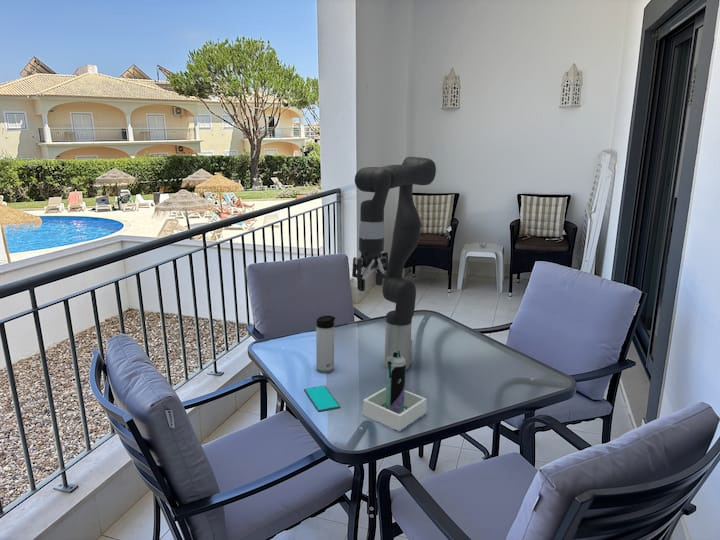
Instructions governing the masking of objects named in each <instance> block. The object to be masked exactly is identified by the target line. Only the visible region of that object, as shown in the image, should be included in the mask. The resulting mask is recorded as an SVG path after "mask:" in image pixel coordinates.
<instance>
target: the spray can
mask: <svg viewBox="0 0 720 540" xmlns="http://www.w3.org/2000/svg"><path fill="white" fill-rule="evenodd" d="M405 369H406V362H405V358H404V357H402V356H401V355H400V352H399V351H395V352H394V354H393V355H392V356H390V357H388V360H387V368H386V385H385V388H386V404H385V407H386V409H388V410H391V411H393V412H395V413H398V414H401V413H402V412H404V409H405V406H404V393H405V389H406V388H405V386H406V385H405V384H406V370H407V369H406V370H405Z"/></svg>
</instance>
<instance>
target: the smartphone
mask: <svg viewBox="0 0 720 540" xmlns="http://www.w3.org/2000/svg"><path fill="white" fill-rule="evenodd" d="M303 390H304V393H305V394H306V396H307V397H308V400H310V402H311V403H312V405H313V407H314V409H316V412H318V413H322V412H326V411H327V412H328V411H331V410H333V411H334V410H338V409H341V405H340V404H339V402H338V401H337V400H336V398H335V397H334V396H333V394H332V393H331V392H330V390H329V389H328V387H327V386H326V385H320V386H314V387H307V388H304V389H303Z"/></svg>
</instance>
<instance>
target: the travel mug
mask: <svg viewBox="0 0 720 540" xmlns="http://www.w3.org/2000/svg"><path fill="white" fill-rule="evenodd" d="M335 320H336V316H333V315H322V316H319V317H318V318H316V329H315V331H316V334H315V336H316V343H315V344H316V346H315V347H316V348H315V349H316V356H315V357H316V359H315V360H316V365H315V366H316V371H317V372H319V373H321V374H328V373H331V372H333V371H334V370H335Z"/></svg>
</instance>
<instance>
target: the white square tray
mask: <svg viewBox="0 0 720 540" xmlns="http://www.w3.org/2000/svg"><path fill="white" fill-rule="evenodd" d="M385 403H386V387H384V388H382V389H381V390H378V391H376V392H375V393H373V394H371V395H370V396H368V397H366V398H364V399H363V400H362V416H363V415H364V417H365V418H368V419H370V418H371V419H370V420H372V419H373V420H372V421H374V420H375V422H376V421H378V422H380V423H379V424H381V423H383V424H385V425H387V426H390V427H393V428H395V429H397V430H401V429H402V428H404V427H405V426H407V425H408V424H410V423H411V422H413V421H414V420H416V419H417V418H419V417H420V416H422V415H423V414H424V413H425V412H426V413H427V403H428V399H427V398H426V397H424V396H421V395H418V394H415V393H414V392H411V391H408V390H405V393H404V405H405V406H407V407H410V408H407V407H406V408H407V410H406V408H404V410H405V411H404V412H402V413H401V414H398V413H395V412H393V411H391V410H388V409H386V406H385V407H384V405H386V404H385ZM383 404H384V405H383ZM382 405H383V406H382ZM405 406H404V407H405ZM422 417H423V416H422ZM419 419H420V418H419ZM416 421H417V420H416ZM378 422H377V423H378ZM413 423H414V422H413ZM383 424H382V425H383ZM385 425H384V426H385ZM387 426H386V427H387Z"/></svg>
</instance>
